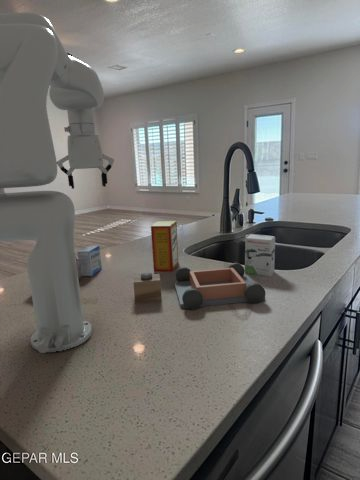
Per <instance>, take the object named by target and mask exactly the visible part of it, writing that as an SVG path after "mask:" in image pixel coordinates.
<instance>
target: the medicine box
mask: <svg viewBox="0 0 360 480" xmlns="http://www.w3.org/2000/svg"><path fill="white" fill-rule="evenodd" d="M77 259H78V260H79V261H81V267H82V275H81V277H93V276H94V275H96V274H97V273H99V272H100V271H101V270H102V269H103V268H102V267H103V266H102V265H103V264H102V259H101V248H100V245H88V246H86V247H84V248H82V249H80V250H79V251H77Z"/></svg>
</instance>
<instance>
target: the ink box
mask: <svg viewBox="0 0 360 480" xmlns="http://www.w3.org/2000/svg"><path fill="white" fill-rule="evenodd" d="M244 238H245V239H244V242H245V243H244V247H245V248H244V270H245V273H244V274H250V275H251V274H252V275H257V276H266V277H271V276H272V275H273V274H274V273H275V258H276V257H275V255H276V237H275V236H273V235H265V234H254V233H251V234H248V235H247V236H246V237H244Z"/></svg>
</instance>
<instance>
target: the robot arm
mask: <svg viewBox="0 0 360 480" xmlns="http://www.w3.org/2000/svg"><path fill="white" fill-rule="evenodd" d="M48 92H49V99H50V101H51V103H52V104H53V106H54V107H55V108H57V109H59V110H61V111H67V119H68V126H65V127H64V133H69V134H68V136H67V155H65V156H64V157H63V158H60V159H59V160H57V156H56V150H55V147H54V141H53V137H52V131H51V125H50V121H49V115H48V110H47V99H48V98H47V97H48ZM104 102H105V93H104V89H103V85H102V83H101V80H100V78H99V75H98V73H97V72H96V70H94V68H93V67H92V66H90V65H89V64H87V63H85V62H83V61H82V60H80V59H77V58H75V57H73V56H71V55H69V53H68V52H67V50H66V48H65V46H64V45H63V43H62V41H61V39H60V37H59V35H58V33H57V31H56V29H55V28H54V26H53V24H52V23H51V22H50V20H49V19H48V18H46V17H45V16H43V15H41V14H39V13H37V12H36V13H35V12H29V11H26V12H25V11H24V12H23V11H22V12H20V11H19V12H0V242H15V241H16V242H18V241H35V242H36V244H35V245H34V247H33V249H32V250H31V252H30V253H29V255H28V258H27V260H26V270H27V275H28V280H29V288H30V292H31V293H30V294H31V301H32V305H33V313H34V319H35V324H36V325H35V326H36V330H35V332H33V333H32V335H31V337H30V344H31V346H32V348H33V349H34V350H36V351H38V352H39V353H40V354H45V353H57V352H56V351H59V352H63V350H64V351H67V349H68V350H71V349H73V347H74V348H76V347H78V346H80V345H82V344H83V343H85V342H86V341H87V340H89V339H90V337H91V335H92V334H93V327H92V324H91V323H90V322H89V321H87V320H84V315H83V314H84V313H83V305H82V298H81V297H82V296H81V290H80V282H79V279H78V272H77V264H76V258H77V255H76V248H75V246H76V245H75V220H76V219H75V218H76V213H75V206H74V205H75V204H74V201H72V198H71V197H69V196H68V195H67V194H65V193H64V192H60V191H56V190H35V191H34V190H32V191H30V190H29V191H22V192H21V191H20V192H19V191H18V192H6V191H5V189H11V188H12V189H13V188H30V187H31V188H33V187H41V186H45V185H49V184H51V183H53V182H54V181H55V180H56V178H57V175H58V167H59V169H60V170H61V171H62V172H63V173H64V174H65V175H66V176H67V179H68V180H67V181H68V186H69V187H71V190H73V189H75V183H74V176H73V172H74V170H82V169H83V170H85V169H99V170H100V171H101V174H100V175H101V177H100V178H101V186H103V188H104V187H106V185H107V184H108V175H107V173H108V172H109V171H110V170H111V169H112V166H113V164H114V161H115V159H114V158H112V157H110V156H108V155H105V154H103V151H102V144H101V140H100V138H99V137H100V136H99V134H97V133H96V127H95V117H94V110H95V109H99V108H101V107H102V106H103V104H104ZM104 160H105V161H107V162H108V163H107V165H106V167H104ZM67 161H68V164H69V169H67V168H66V167H65V166H64V165H63V164H64V163H66V162H67ZM70 348H71V349H70Z"/></svg>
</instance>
